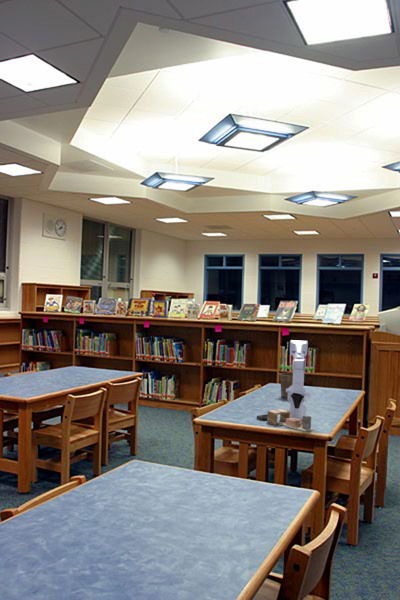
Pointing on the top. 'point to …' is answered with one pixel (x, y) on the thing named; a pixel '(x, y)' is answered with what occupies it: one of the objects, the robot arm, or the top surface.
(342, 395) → the top surface
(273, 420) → the tunnel
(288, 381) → the plant pot
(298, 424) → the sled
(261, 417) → the tray
